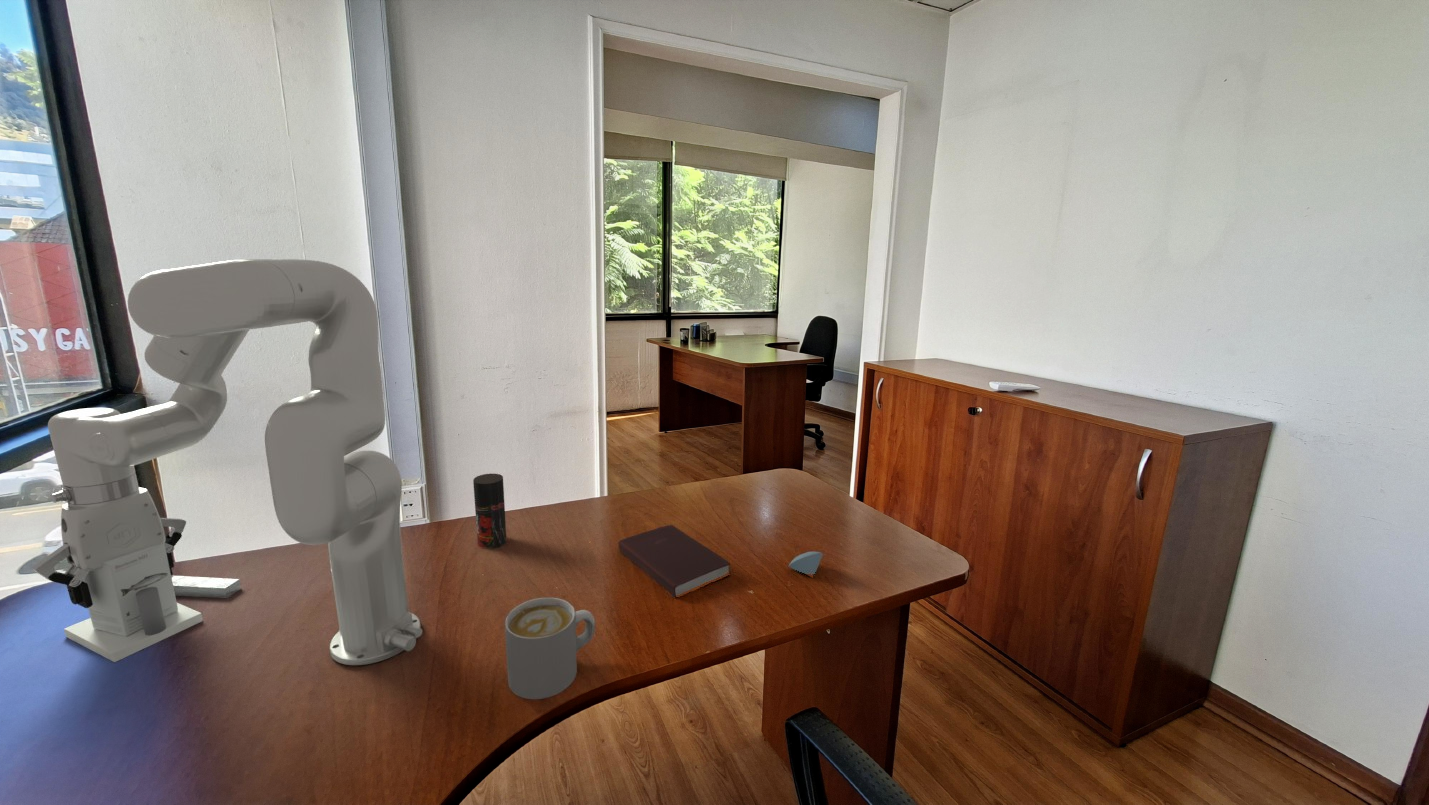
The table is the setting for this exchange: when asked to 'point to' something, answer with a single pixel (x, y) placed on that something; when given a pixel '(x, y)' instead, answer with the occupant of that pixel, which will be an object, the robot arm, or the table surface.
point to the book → (673, 559)
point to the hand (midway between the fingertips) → (126, 588)
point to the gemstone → (806, 562)
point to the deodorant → (490, 510)
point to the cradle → (150, 634)
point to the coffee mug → (544, 646)
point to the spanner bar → (205, 586)
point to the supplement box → (129, 589)
